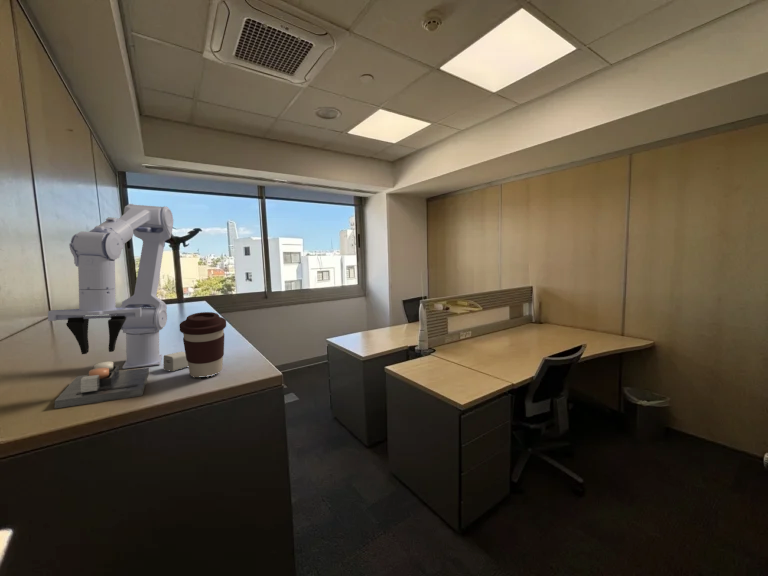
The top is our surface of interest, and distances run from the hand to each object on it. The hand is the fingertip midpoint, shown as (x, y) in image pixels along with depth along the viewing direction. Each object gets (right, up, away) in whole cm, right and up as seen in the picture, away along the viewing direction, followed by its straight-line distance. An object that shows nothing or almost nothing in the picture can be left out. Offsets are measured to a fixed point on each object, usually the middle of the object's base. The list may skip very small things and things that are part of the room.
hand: (98, 351), depth 67 cm
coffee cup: (+16, -8, +13) cm, 22 cm away
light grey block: (+2, -7, -4) cm, 8 cm away
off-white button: (-3, -5, +5) cm, 7 cm away
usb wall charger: (+7, -8, +17) cm, 20 cm away
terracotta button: (0, -6, 0) cm, 6 cm away
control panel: (+1, -8, +1) cm, 9 cm away
